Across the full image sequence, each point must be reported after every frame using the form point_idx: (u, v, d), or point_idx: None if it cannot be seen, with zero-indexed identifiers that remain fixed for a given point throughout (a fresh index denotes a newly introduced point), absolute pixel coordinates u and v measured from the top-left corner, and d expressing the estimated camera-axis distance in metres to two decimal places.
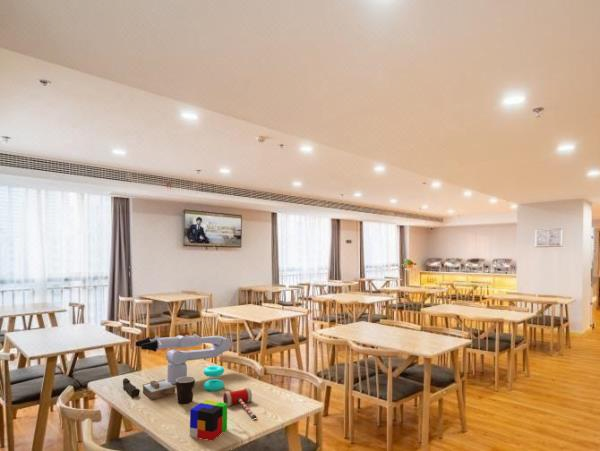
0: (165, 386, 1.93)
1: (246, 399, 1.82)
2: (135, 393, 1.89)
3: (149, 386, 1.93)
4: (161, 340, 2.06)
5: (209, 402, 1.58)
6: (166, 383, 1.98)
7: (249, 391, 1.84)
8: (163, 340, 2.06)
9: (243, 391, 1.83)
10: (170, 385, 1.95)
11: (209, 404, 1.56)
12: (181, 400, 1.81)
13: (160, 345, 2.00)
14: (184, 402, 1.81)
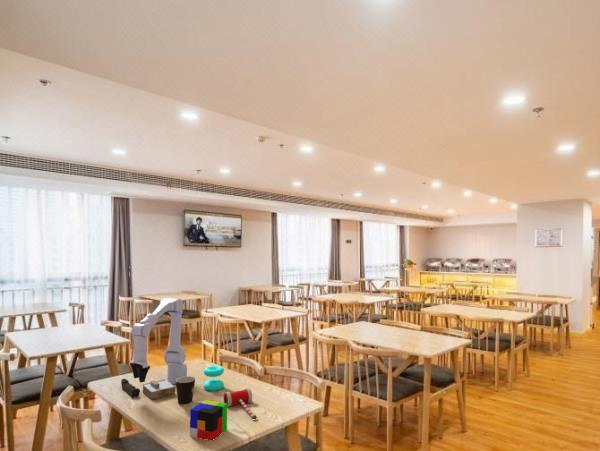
0: (165, 386, 1.93)
1: (246, 399, 1.82)
2: (135, 393, 1.89)
3: (149, 386, 1.93)
4: (137, 358, 1.83)
5: (209, 402, 1.58)
6: (166, 383, 1.98)
7: (249, 391, 1.83)
8: (137, 355, 1.83)
9: (243, 391, 1.83)
10: (170, 385, 1.95)
11: (209, 404, 1.56)
12: (181, 400, 1.81)
13: (144, 365, 1.80)
14: (184, 402, 1.81)
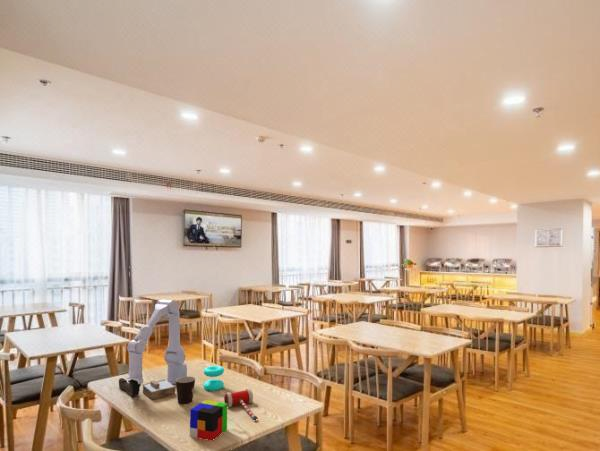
0: (165, 386, 1.93)
1: (247, 400, 1.81)
2: None
3: (149, 386, 1.93)
4: (133, 374, 1.87)
5: (209, 402, 1.58)
6: (166, 383, 1.98)
7: (250, 392, 1.82)
8: (133, 371, 1.87)
9: (244, 392, 1.82)
10: (170, 385, 1.95)
11: (209, 404, 1.56)
12: (181, 400, 1.81)
13: (139, 381, 1.83)
14: (184, 402, 1.81)
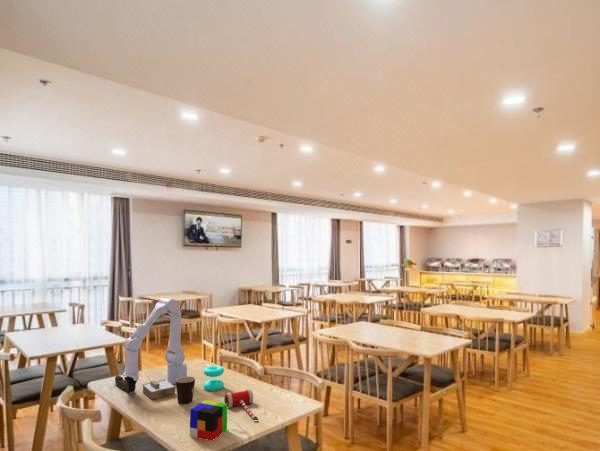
0: (165, 386, 1.93)
1: (247, 400, 1.81)
2: None
3: (149, 386, 1.93)
4: (128, 371, 1.91)
5: (209, 402, 1.58)
6: (166, 383, 1.98)
7: (250, 392, 1.82)
8: (129, 368, 1.91)
9: (244, 392, 1.82)
10: (170, 385, 1.95)
11: (209, 404, 1.56)
12: (181, 400, 1.81)
13: (135, 378, 1.88)
14: (184, 402, 1.81)
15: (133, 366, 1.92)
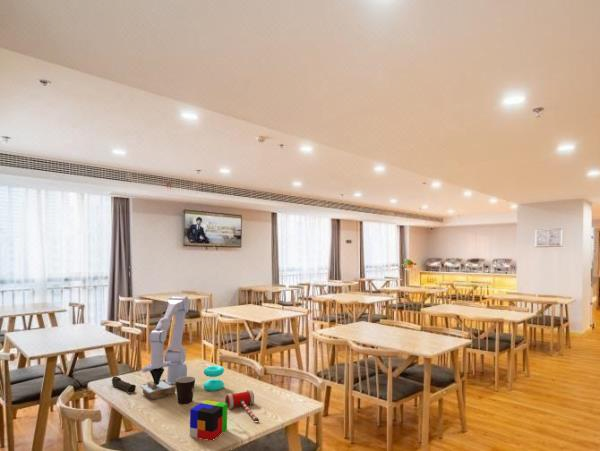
0: (162, 387, 1.92)
1: (248, 401, 1.80)
2: (132, 389, 1.95)
3: (146, 387, 1.92)
4: None
5: (209, 402, 1.58)
6: (164, 383, 1.97)
7: (251, 393, 1.81)
8: None
9: (245, 393, 1.81)
10: (167, 386, 1.94)
11: (209, 404, 1.56)
12: (181, 400, 1.81)
13: (142, 370, 1.89)
14: (184, 402, 1.81)
15: (151, 358, 1.92)
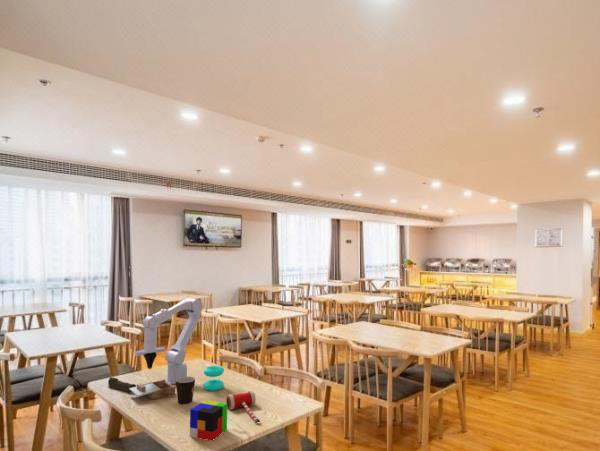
0: (151, 389, 1.89)
1: (250, 402, 1.78)
2: None
3: (135, 389, 1.89)
4: None
5: (209, 402, 1.58)
6: (153, 386, 1.94)
7: (253, 394, 1.80)
8: None
9: (247, 394, 1.79)
10: (157, 388, 1.90)
11: (209, 404, 1.56)
12: (181, 400, 1.81)
13: (135, 353, 1.98)
14: (184, 402, 1.81)
15: (144, 343, 2.00)
